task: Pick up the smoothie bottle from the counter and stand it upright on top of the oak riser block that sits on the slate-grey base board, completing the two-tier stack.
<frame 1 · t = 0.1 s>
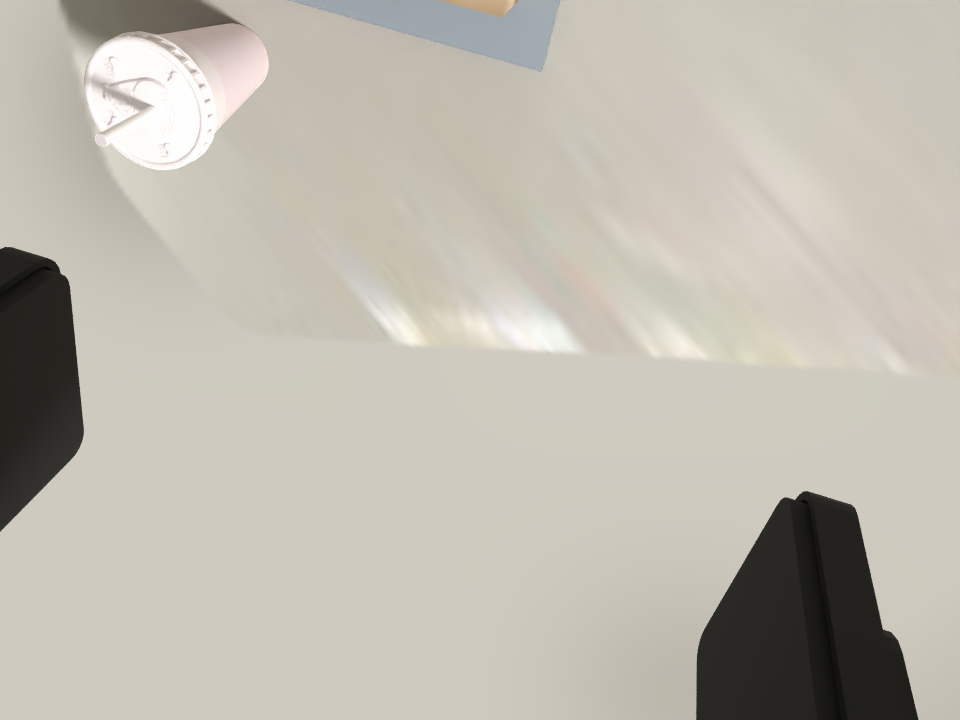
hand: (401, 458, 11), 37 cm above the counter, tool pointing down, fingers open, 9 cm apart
smoothie: (239, 56, 47), on the counter
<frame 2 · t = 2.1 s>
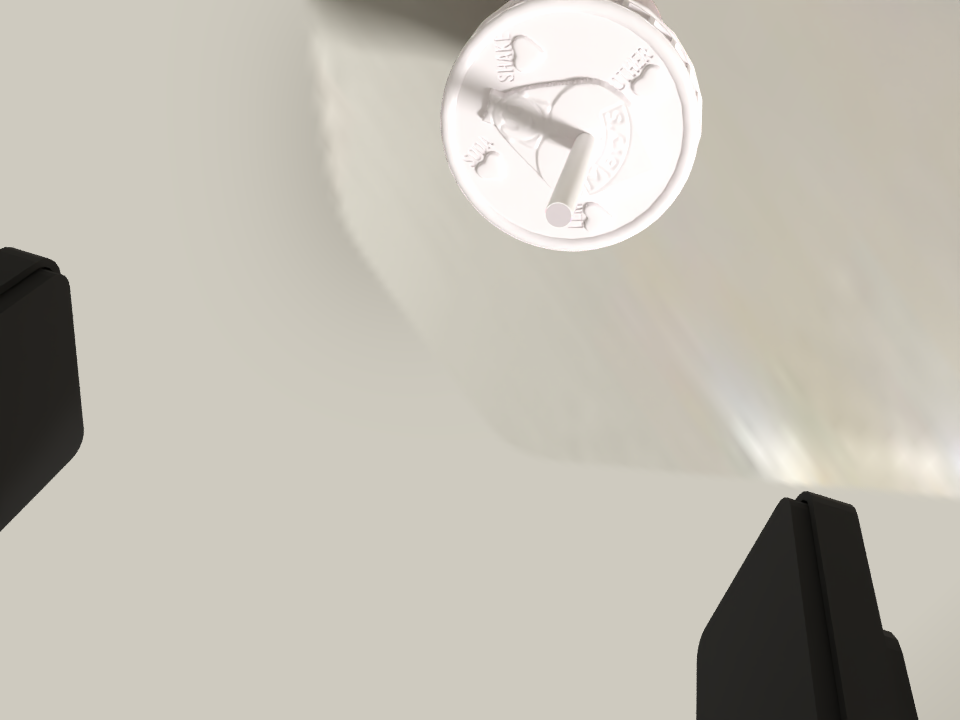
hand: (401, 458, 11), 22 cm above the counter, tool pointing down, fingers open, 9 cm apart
smoothie: (608, 38, 28), on the counter
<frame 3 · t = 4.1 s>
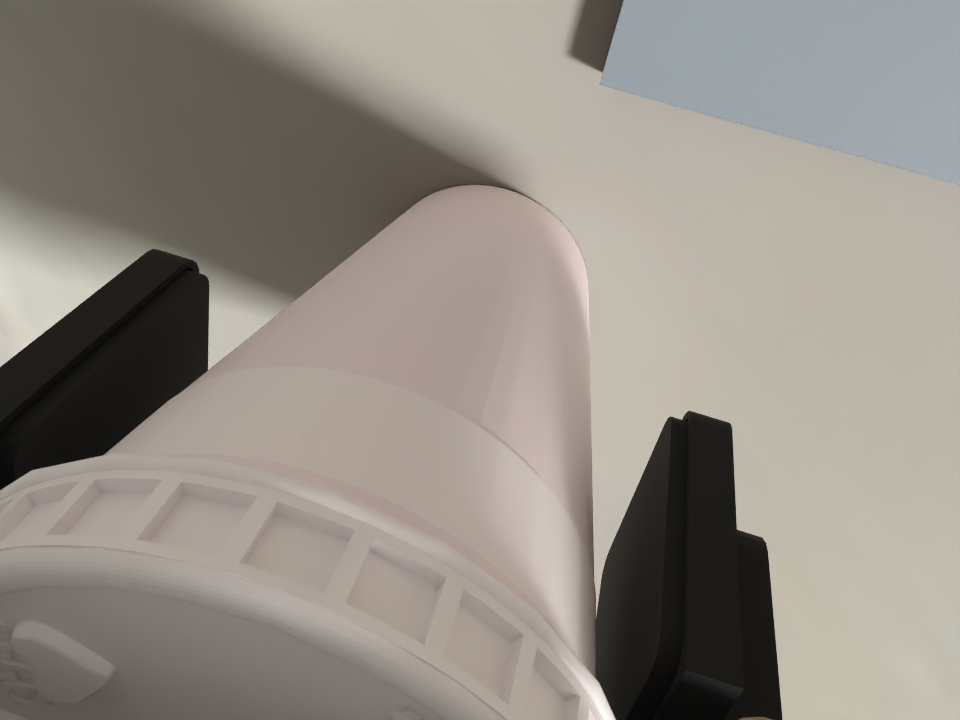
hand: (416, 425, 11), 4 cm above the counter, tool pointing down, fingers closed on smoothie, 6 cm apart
smoothie: (485, 279, 15), on the counter, touching gripper
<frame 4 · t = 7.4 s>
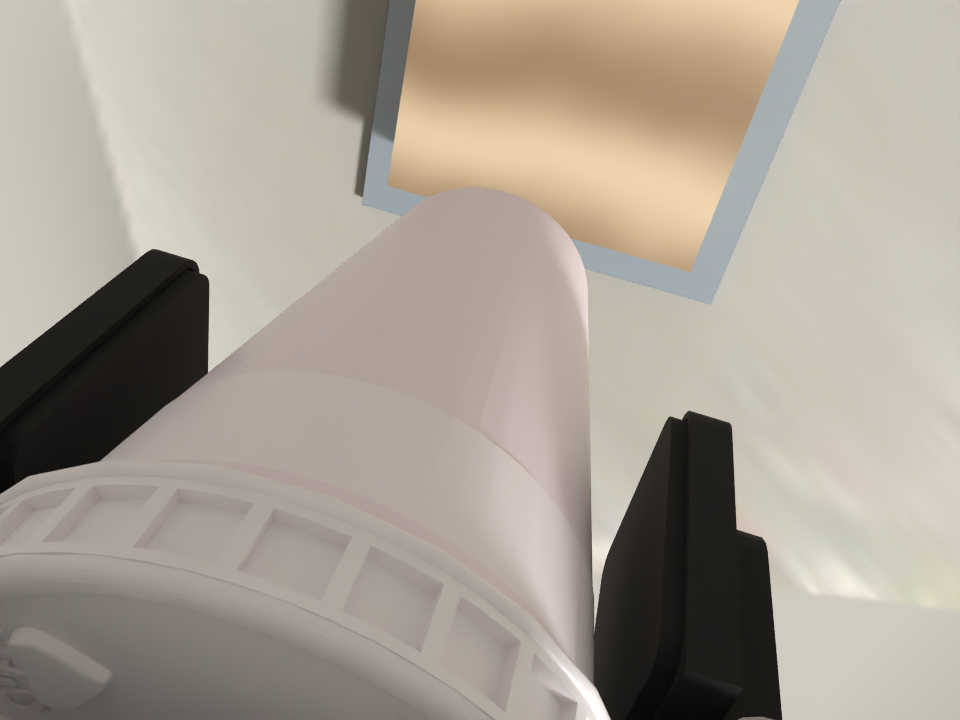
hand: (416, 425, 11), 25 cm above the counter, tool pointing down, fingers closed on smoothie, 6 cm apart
base board: (592, 43, 32), on the counter
oak riser: (590, 46, 32), resting on base board
smoothie: (484, 281, 15), point 21 cm above the counter, touching gripper
when the fingers open (10 cm above the counter, at t = 10.8 s): smoothie drops 2 cm, resting on oak riser.
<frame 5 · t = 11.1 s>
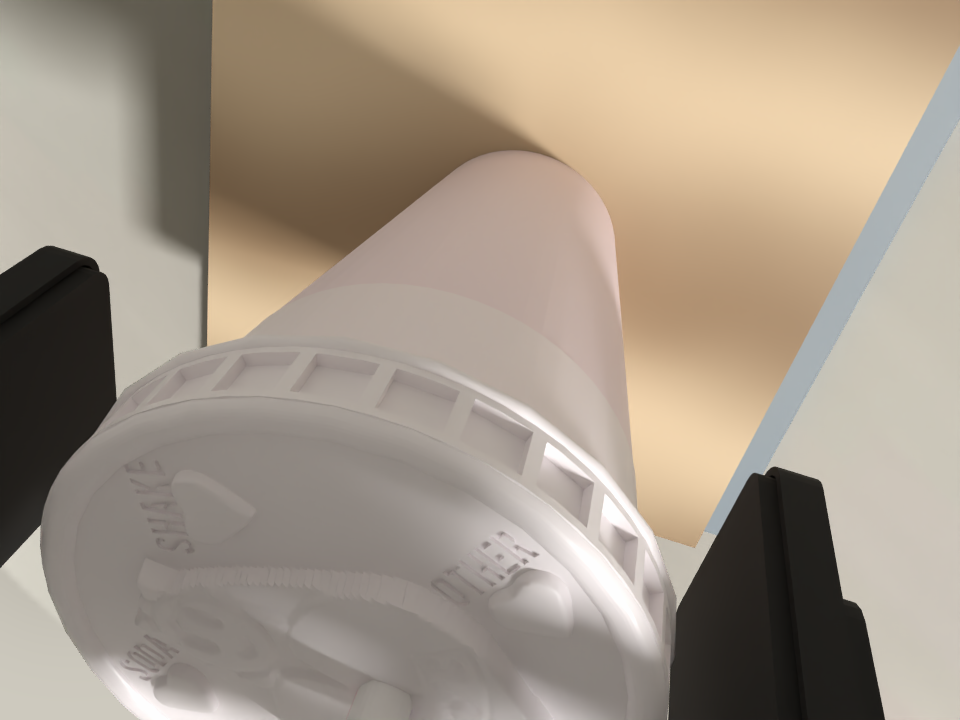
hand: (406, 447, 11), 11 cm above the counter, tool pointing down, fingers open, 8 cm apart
base board: (539, 163, 20), on the counter
oak riser: (535, 172, 19), resting on base board
smoothie: (519, 239, 16), point 4 cm above the counter, touching oak riser
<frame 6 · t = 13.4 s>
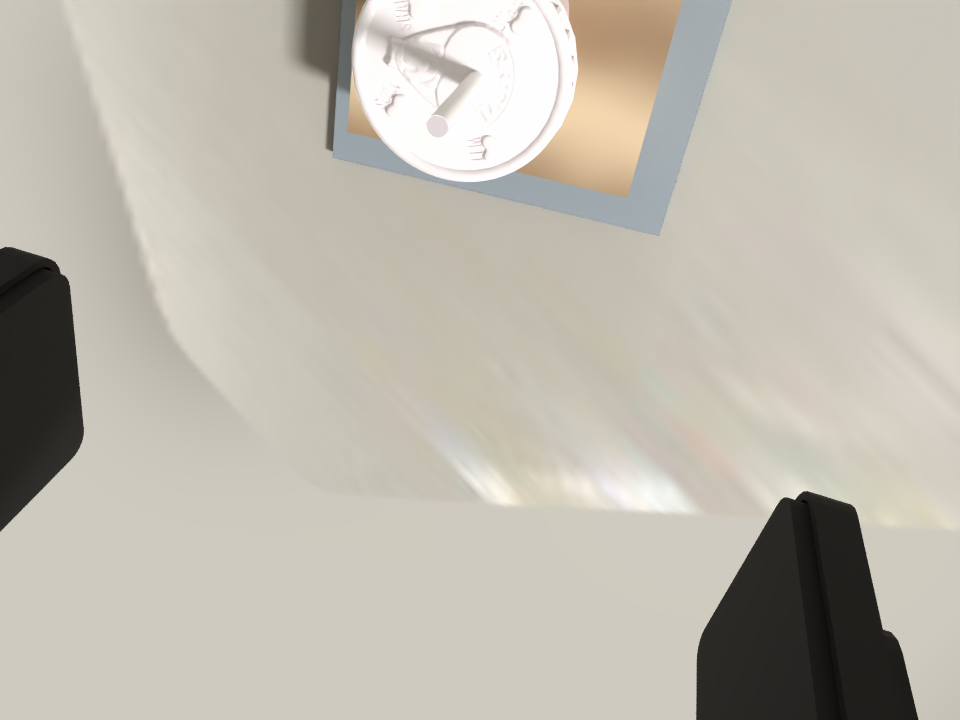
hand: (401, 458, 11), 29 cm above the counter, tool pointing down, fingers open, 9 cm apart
smoothie: (520, 9, 31), point 4 cm above the counter, touching oak riser
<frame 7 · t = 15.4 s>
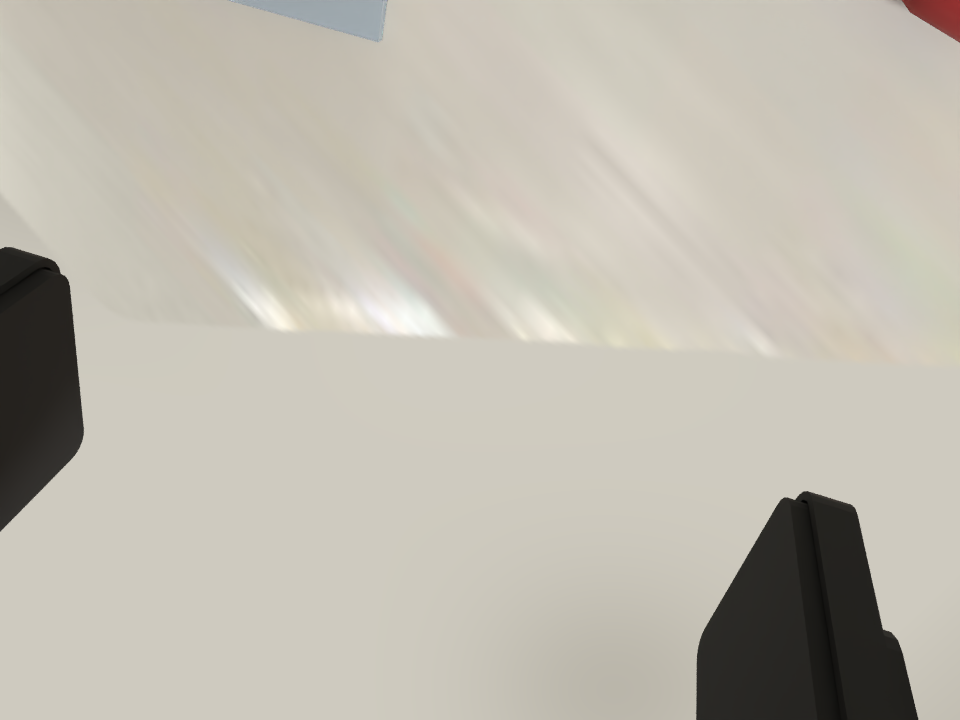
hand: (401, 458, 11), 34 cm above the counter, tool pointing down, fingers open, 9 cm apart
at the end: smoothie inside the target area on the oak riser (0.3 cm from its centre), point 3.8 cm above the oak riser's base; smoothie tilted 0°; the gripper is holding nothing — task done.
